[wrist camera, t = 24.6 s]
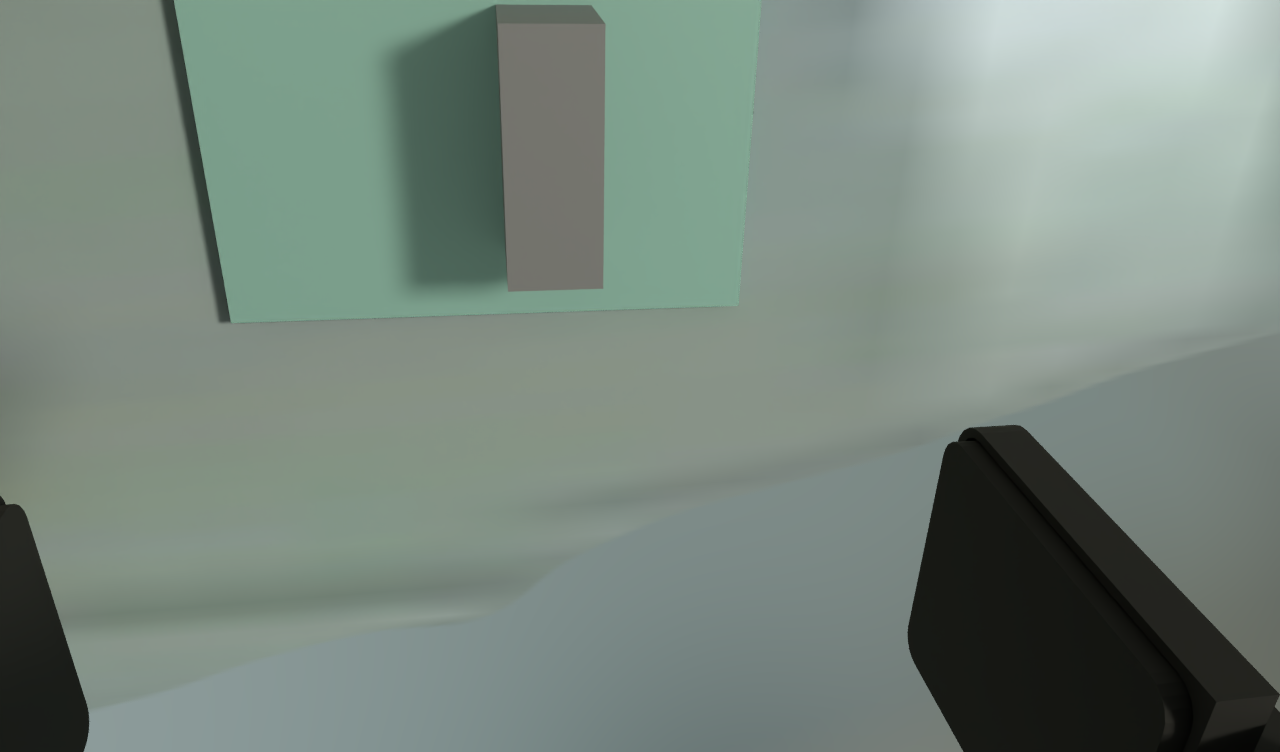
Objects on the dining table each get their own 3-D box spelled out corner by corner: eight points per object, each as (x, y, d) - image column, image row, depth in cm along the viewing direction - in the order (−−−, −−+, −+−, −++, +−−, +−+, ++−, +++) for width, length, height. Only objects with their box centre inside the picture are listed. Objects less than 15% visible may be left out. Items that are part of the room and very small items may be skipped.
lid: (238, 309, 36) (203, 375, 31) (169, -93, 30) (113, -83, 25) (731, 293, 38) (765, 352, 34) (757, -81, 32) (804, -71, 28)
